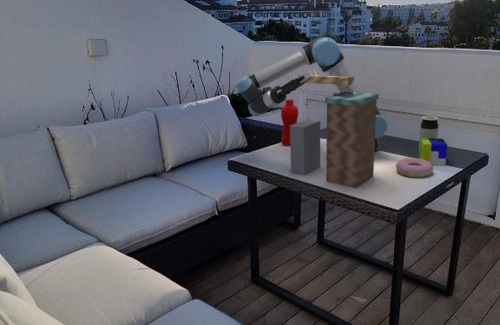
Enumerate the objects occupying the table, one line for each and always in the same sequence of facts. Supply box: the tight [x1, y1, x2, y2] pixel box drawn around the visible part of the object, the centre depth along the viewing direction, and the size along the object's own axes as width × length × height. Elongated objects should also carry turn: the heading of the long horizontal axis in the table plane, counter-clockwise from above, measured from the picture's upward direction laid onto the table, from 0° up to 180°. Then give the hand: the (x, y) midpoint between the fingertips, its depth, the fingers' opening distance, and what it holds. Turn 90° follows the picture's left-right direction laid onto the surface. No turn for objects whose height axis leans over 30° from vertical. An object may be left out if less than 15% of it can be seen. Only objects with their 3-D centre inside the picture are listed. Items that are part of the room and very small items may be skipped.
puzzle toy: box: [418, 137, 448, 166], centre depth 204 cm, size 10×10×10 cm
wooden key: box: [297, 74, 355, 86], centre depth 184 cm, size 24×7×3 cm, turn 51°
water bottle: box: [280, 98, 299, 147], centre depth 242 cm, size 9×11×25 cm
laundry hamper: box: [324, 90, 380, 189], centre depth 184 cm, size 15×17×37 cm
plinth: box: [290, 118, 321, 176], centre depth 200 cm, size 7×14×22 cm, turn 140°
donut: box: [395, 157, 434, 178], centre depth 193 cm, size 16×15×5 cm
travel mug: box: [418, 115, 439, 148], centre depth 215 cm, size 8×8×18 cm
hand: (312, 72), depth 186 cm, fingers closed on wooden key, 3 cm apart
